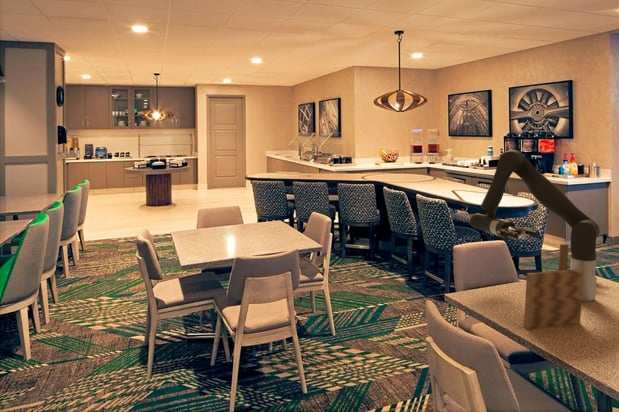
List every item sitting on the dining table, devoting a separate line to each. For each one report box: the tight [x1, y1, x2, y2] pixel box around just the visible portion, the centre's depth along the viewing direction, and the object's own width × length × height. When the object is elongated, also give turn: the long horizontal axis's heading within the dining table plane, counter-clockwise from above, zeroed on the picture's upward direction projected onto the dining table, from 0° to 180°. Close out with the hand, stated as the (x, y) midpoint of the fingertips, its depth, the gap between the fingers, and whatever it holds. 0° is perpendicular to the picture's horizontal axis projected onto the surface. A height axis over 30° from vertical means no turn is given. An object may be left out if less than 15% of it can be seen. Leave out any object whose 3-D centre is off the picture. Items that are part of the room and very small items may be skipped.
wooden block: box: [557, 242, 570, 271], centre depth 229 cm, size 4×11×18 cm, turn 58°
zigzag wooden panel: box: [523, 269, 584, 330], centre depth 181 cm, size 22×7×20 cm, turn 103°
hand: (526, 235), depth 201 cm, fingers open, 8 cm apart
